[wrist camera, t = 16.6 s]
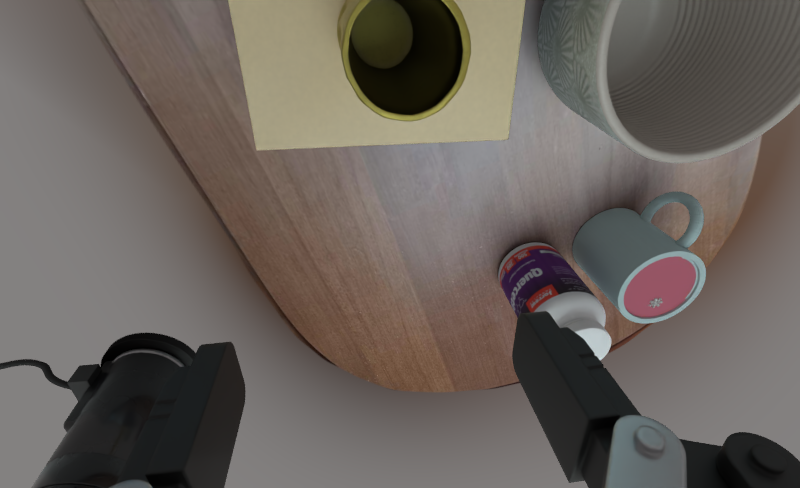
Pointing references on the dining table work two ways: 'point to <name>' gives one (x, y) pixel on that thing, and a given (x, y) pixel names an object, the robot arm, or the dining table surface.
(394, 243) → the dining table surface
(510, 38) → the box
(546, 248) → the pill bottle
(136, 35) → the dining table surface
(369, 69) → the vase
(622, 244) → the mug
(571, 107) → the planter
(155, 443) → the robot arm
